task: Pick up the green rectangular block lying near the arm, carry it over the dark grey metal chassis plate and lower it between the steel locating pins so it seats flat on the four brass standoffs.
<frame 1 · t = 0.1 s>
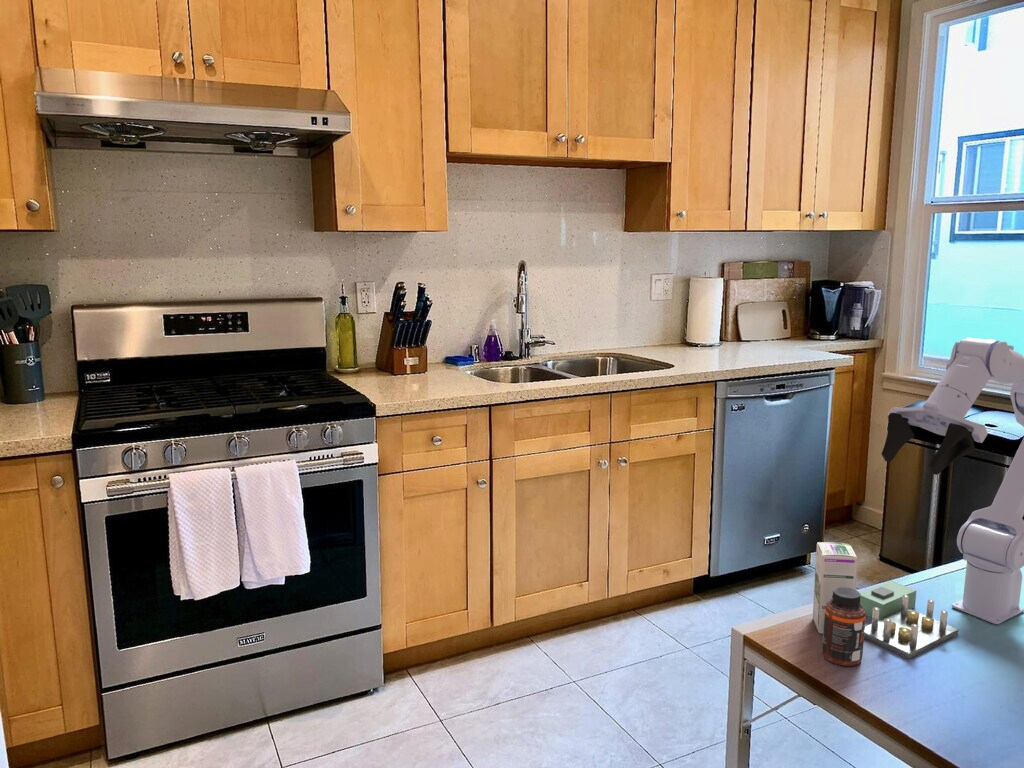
hand: (908, 464, 118), 32 cm above the table, tool tilted 50°, fingers open, 7 cm apart
chassis: (907, 634, 130), on the table
syrup box: (831, 628, 133), on the table
green rectangular block: (886, 610, 139), on the table
supplement bottle: (841, 659, 124), on the table
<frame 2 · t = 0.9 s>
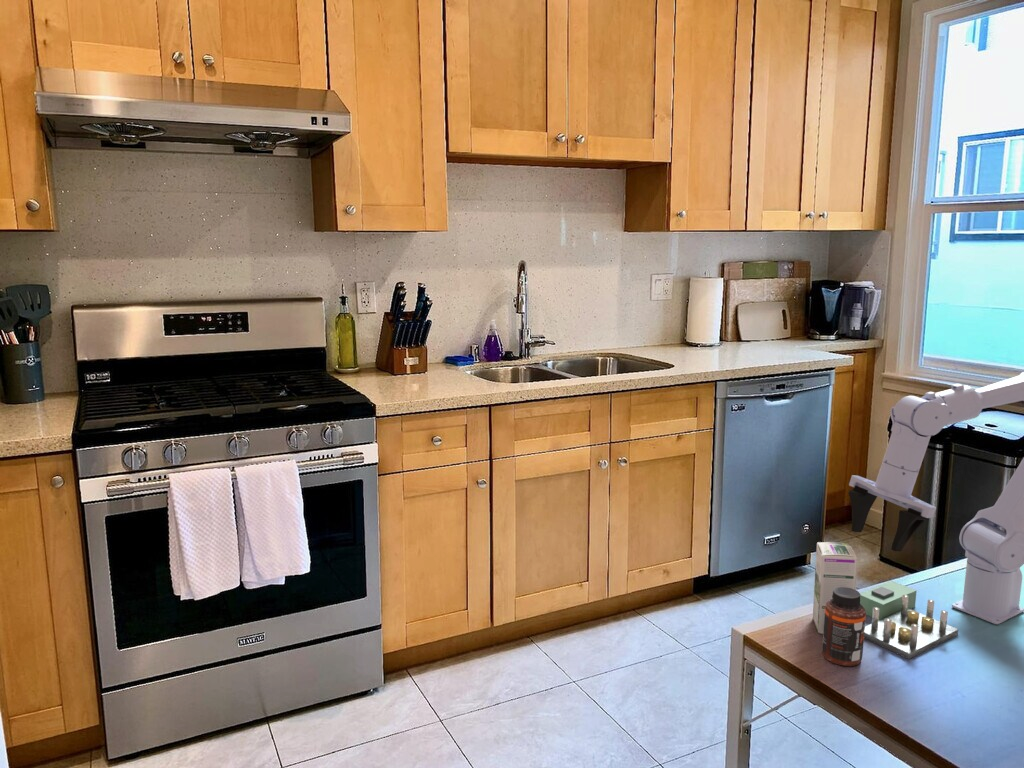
hand: (875, 540, 133), 15 cm above the table, tool pointing down, fingers open, 7 cm apart
nothing on the table moved.
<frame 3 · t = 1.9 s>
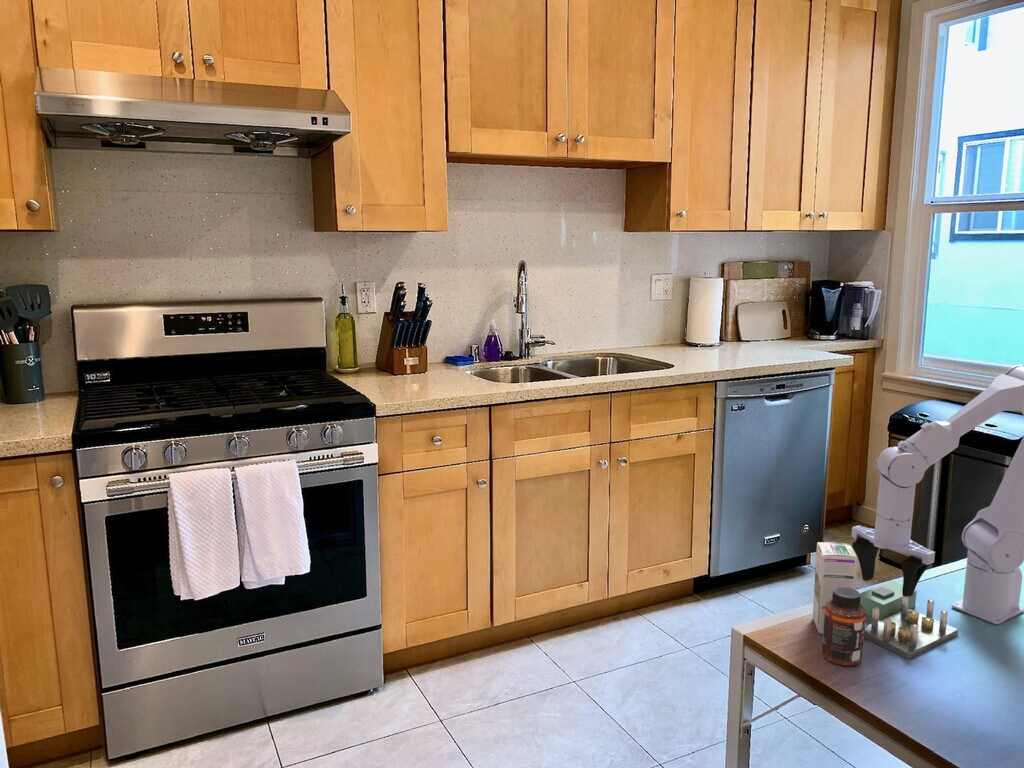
hand: (887, 587, 139), 4 cm above the table, tool pointing down, fingers open, 7 cm apart
nothing on the table moved.
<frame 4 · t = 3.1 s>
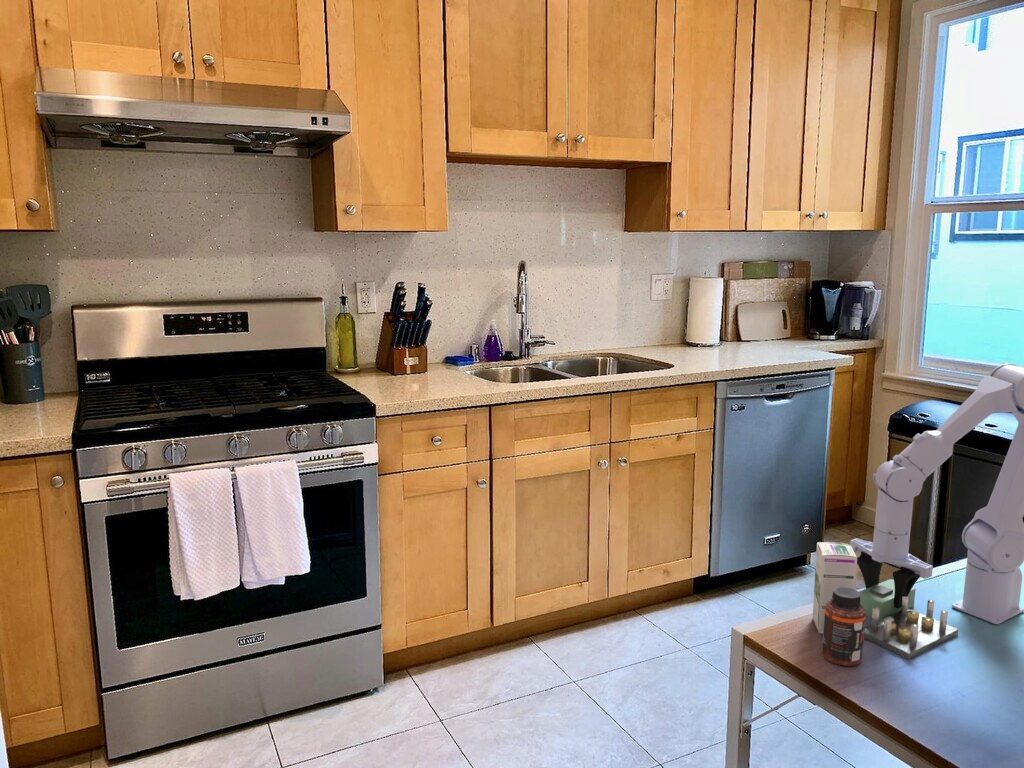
hand: (885, 600, 139), 2 cm above the table, tool pointing down, fingers closed on green rectangular block, 5 cm apart
green rectangular block: (884, 608, 140), on the table, touching gripper
everything else where it was.
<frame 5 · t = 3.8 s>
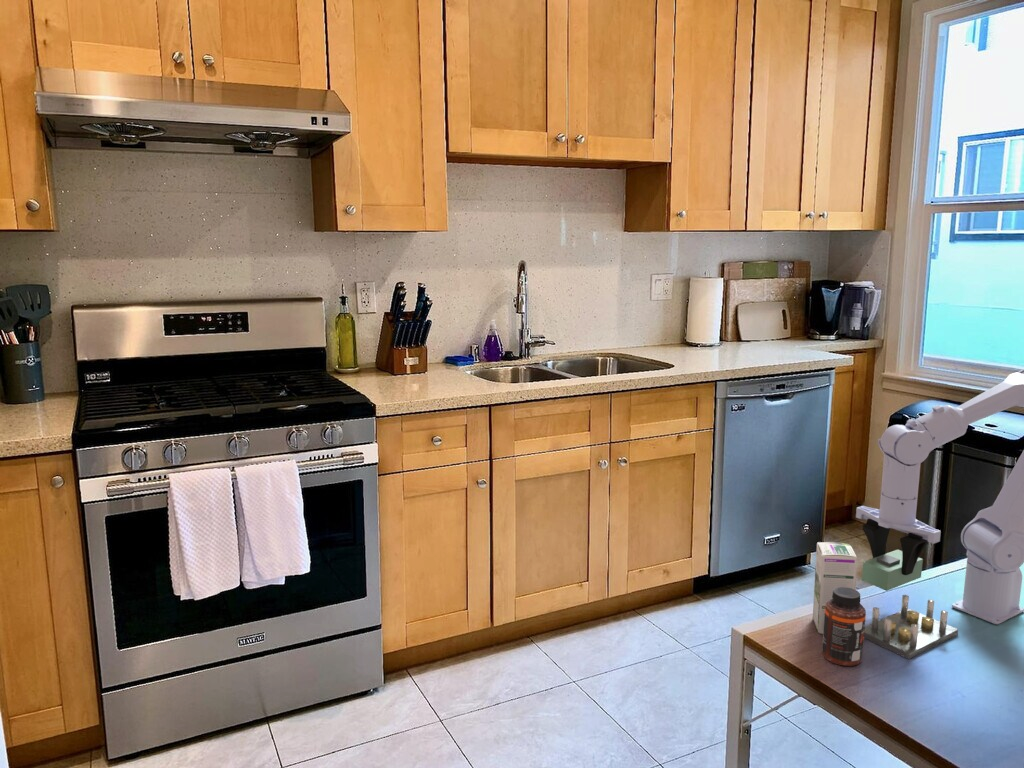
hand: (892, 568, 137), 8 cm above the table, tool pointing down, fingers closed on green rectangular block, 5 cm apart
green rectangular block: (891, 578, 137), point 6 cm above the table, touching gripper
everything else where it was.
when the fingers open (5 cm above the table, at t = 5.3 s): green rectangular block stays where it is, resting on chassis.
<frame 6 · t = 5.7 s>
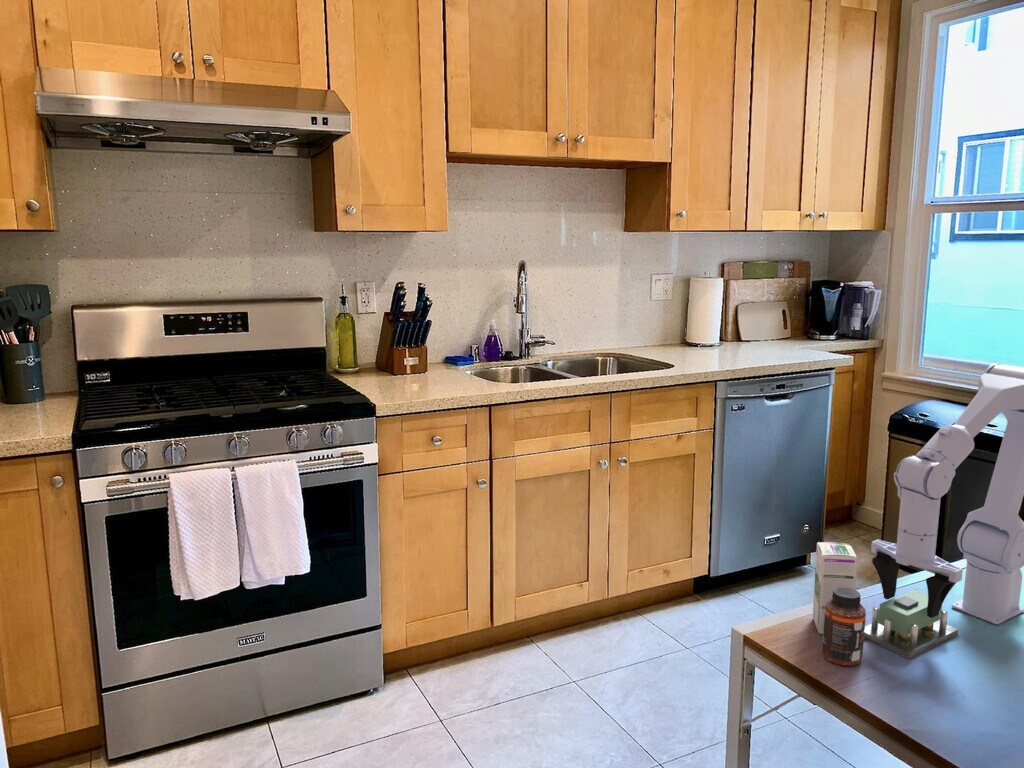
hand: (910, 606, 129), 5 cm above the table, tool pointing down, fingers open, 7 cm apart
green rectangular block: (909, 621, 130), point 2 cm above the table, touching chassis
everything else where it was.
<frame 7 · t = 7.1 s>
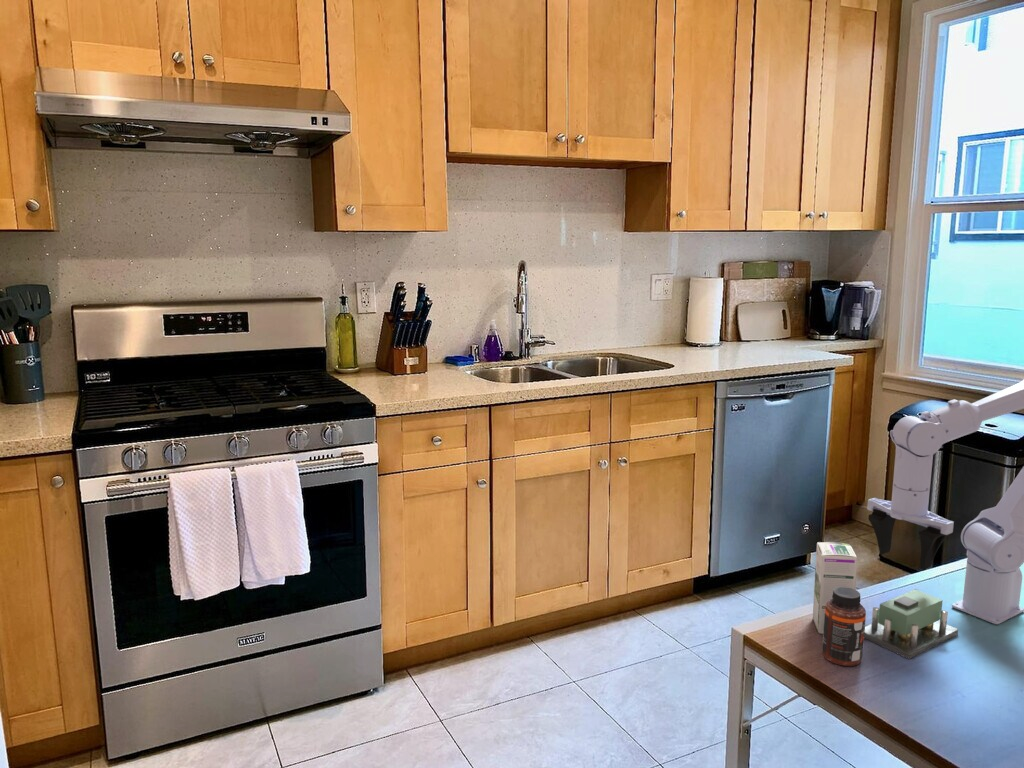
hand: (904, 559, 136), 10 cm above the table, tool pointing down, fingers open, 7 cm apart
nothing on the table moved.
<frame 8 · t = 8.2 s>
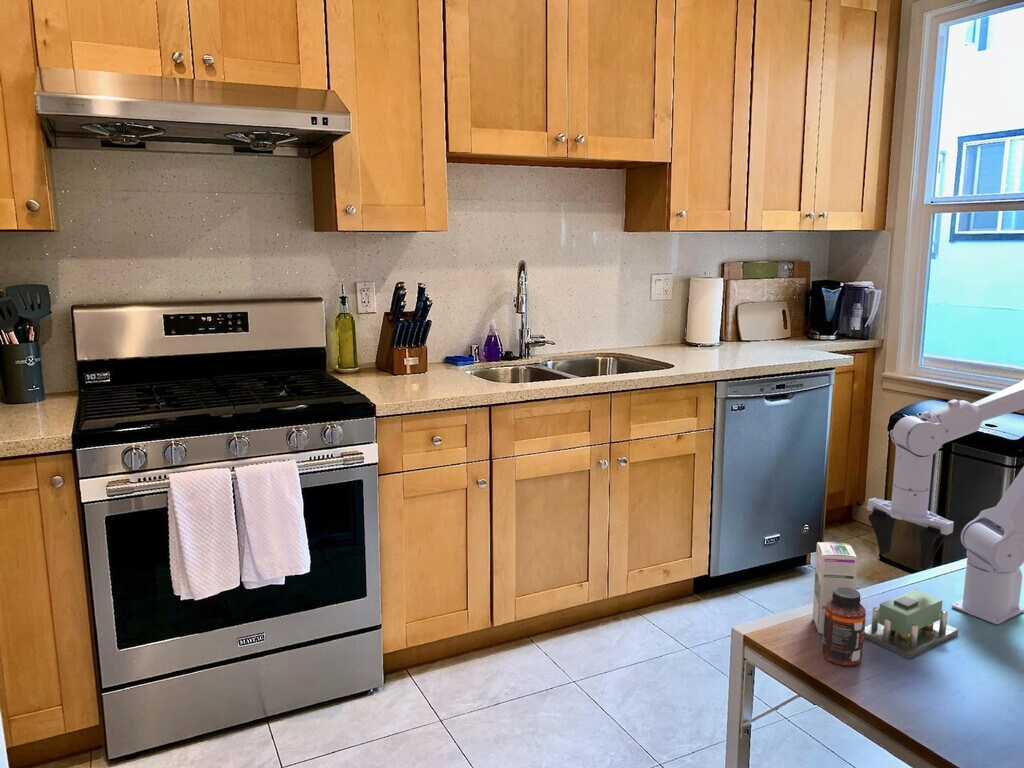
hand: (904, 559, 136), 10 cm above the table, tool pointing down, fingers open, 7 cm apart
nothing on the table moved.
at the end: green rectangular block 0.1 cm off-centre on the chassis, point 2.5 cm above the chassis's base; green rectangular block tilted 0°; the gripper is holding nothing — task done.
